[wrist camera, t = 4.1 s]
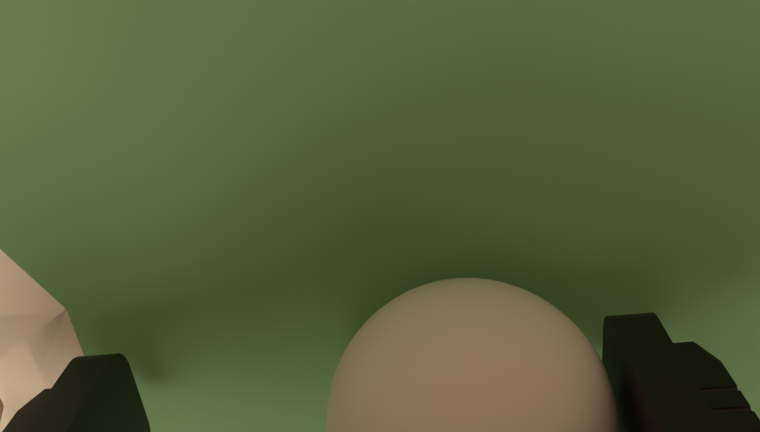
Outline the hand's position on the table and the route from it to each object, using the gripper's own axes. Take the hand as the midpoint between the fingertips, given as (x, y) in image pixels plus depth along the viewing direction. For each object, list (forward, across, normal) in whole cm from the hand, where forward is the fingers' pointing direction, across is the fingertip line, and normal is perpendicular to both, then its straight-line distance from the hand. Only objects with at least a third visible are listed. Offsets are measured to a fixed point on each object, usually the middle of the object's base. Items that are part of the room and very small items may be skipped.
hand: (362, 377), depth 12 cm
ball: (-1, -2, 0) cm, 2 cm away
